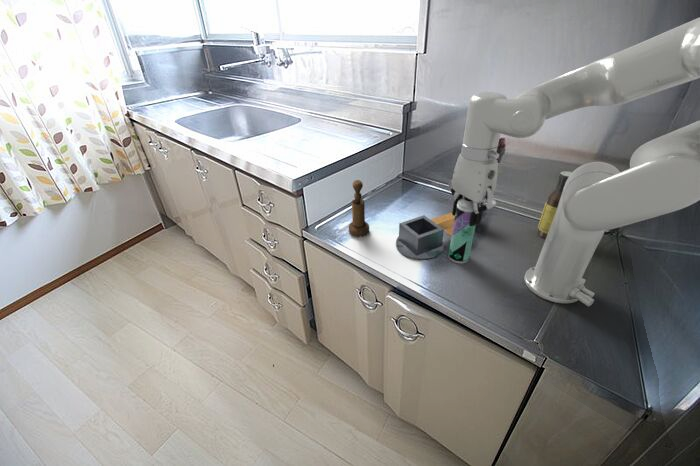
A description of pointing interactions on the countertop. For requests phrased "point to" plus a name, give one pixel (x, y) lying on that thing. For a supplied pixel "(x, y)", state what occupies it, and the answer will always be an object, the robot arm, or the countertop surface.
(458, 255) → the spray can
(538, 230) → the sauce bottle
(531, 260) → the countertop surface
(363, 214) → the brown wooden tall piece
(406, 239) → the grey square saucepan
